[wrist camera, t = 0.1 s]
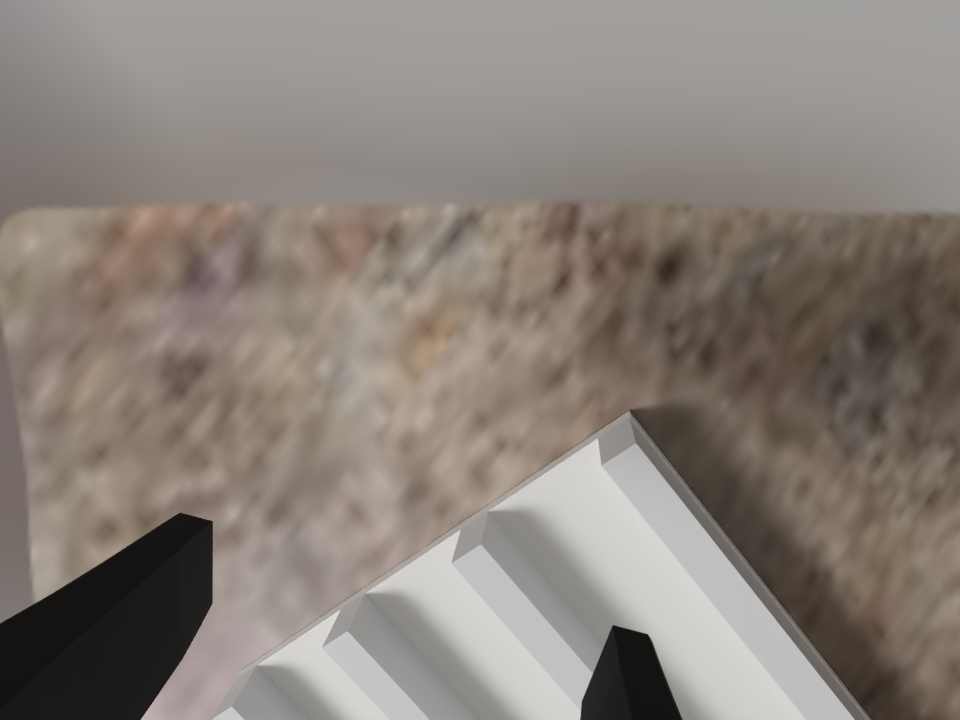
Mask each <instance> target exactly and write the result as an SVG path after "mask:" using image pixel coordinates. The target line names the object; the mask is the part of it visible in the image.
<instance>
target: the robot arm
mask: <svg viewBox="0 0 960 720" xmlns="http://www.w3.org/2000/svg"><path fill="white" fill-rule="evenodd" d="M212 570H213V521H210V520H206V519H202V518H198V517H194V516H190V515H187V514H183V513H179V514H177V515H175V516H174V517H172V518H171V519H169V520H167V521H166V522H164V523H163V524H161V525H160V526H158V527H156V528H155V529H153V530H152V531H150V532H149V533H147V534H146V535H144V536H143V537H141V538H140V539H138V540H137V541H135V542H133V543H132V544H130V545H129V546H127V547H126V548H124V549H123V550H121V551H120V552H118V553H116V554H115V555H113V556H112V557H110V558H109V559H107V560H106V561H104V562H103V563H101V564H99V565H98V566H96V567H95V568H93V569H91V570H90V571H88V572H86V573H85V574H83V575H82V576H80V577H78V578H77V579H75V580H74V581H72V582H70V583H69V584H67V585H65V586H64V587H62V588H61V589H59V590H57V591H56V592H54V593H52V594H51V595H49V596H47V597H46V598H44V599H42V600H41V601H39V602H37V603H35V604H33V605H32V606H30V607H28V608H26V609H25V610H23V611H21V612H20V613H18V614H16V615H14V616H12V617H11V618H9V619H7V620H5V621H4V622H2V623H1V624H0V720H141V718H142V717H143V715H144V714H145V713H146V711H147V710H148V708H149V707H150V705H151V704H152V702H153V701H154V700H155V698H156V697H157V695H158V694H159V692H160V691H161V689H162V688H163V687H164V685H165V684H166V682H167V681H168V679H169V678H170V676H171V675H172V673H173V672H174V670H175V669H176V667H177V666H178V665H179V663H180V662H181V660H182V659H183V657H184V655H185V653H186V652H187V650H188V648H189V646H190V644H191V642H192V641H193V639H194V637H195V635H196V633H197V632H198V630H199V628H200V626H201V624H202V622H203V620H204V618H205V616H206V614H207V612H208V611H209V609H210V607H211V605H212ZM580 720H683V719H682V717H681V715H680V712H679V710H678V707H677V705H676V702H675V700H674V697H673V695H672V693H671V690H670V687H669V685H668V682H667V680H666V677H665V675H664V672H663V669H662V667H661V664H660V661H659V659H658V656H657V653H656V651H655V648H654V645H653V642H652V640H651V638H650V637H649V635H648V634H645V633H642V632H638V631H634V630H630V629H626V628H622V627H618V626H615V625H613V626H612V628H611V631H610V633H609V635H608V638H607V640H606V643H605V645H604V648H603V650H602V653H601V655H600V658H599V660H598V663H597V665H596V668H595V670H594V672H593V675H592V677H591V680H590V682H589V685H588V687H587V690H586V692H585V695H584V697H583V700H582V705H581V717H580Z"/></svg>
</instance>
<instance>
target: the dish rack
mask: <svg viewBox="0 0 960 720" xmlns="http://www.w3.org/2000/svg"><path fill="white" fill-rule="evenodd" d="M613 625H615V626H618V627H622V628H626V629H630V630H634V631H638V632H642V633H645V634H648V635H649V637H650V638H651V640H652V642H653V645H654V648H655V651H656V653H657V656H658V659H659V661H660V664H661V667H662V669H663V672H664V675H665V677H666V680H667V682H668V685H669V687H670V690H671V693H672V695H673V697H674V700H675V702H676V705H677V707H678V710H679V712H680V715H681V717H682V719H683V720H871V718H870V717H869V716H868V715H867V713H866V712H865V711H864V709H863V708H862V707H861V706H860V704H859V703H858V702H857V701H856V699H855V698H854V697H853V695H852V694H851V693H850V692H849V690H848V689H847V688H846V687H845V685H844V684H843V683H842V681H841V680H840V679H839V678H838V676H837V675H836V674H835V673H834V671H833V670H832V669H831V667H830V666H829V665H828V664H827V662H826V661H825V660H824V658H823V657H822V656H821V655H820V653H819V652H818V651H817V650H816V648H815V647H814V646H813V644H812V643H811V642H810V641H809V639H808V638H807V637H806V636H805V634H804V633H803V632H802V630H801V629H800V628H799V627H798V625H797V624H796V623H795V622H794V620H793V619H792V618H791V616H790V615H789V614H788V613H787V611H786V610H785V609H784V607H783V606H782V605H781V604H780V602H779V601H778V600H777V599H776V597H775V596H774V595H773V593H772V592H771V591H770V590H769V588H768V587H767V586H766V585H765V583H764V582H763V581H762V579H761V578H760V577H759V576H758V574H757V573H756V572H755V571H754V569H753V568H752V567H751V565H750V564H749V563H748V562H747V560H746V559H745V558H744V556H743V555H742V554H741V553H740V551H739V550H738V549H737V548H736V546H735V545H734V544H733V542H732V541H731V540H730V539H729V537H728V536H727V535H726V534H725V532H724V531H723V530H722V528H721V527H720V526H719V525H718V523H717V522H716V521H715V520H714V518H713V517H712V516H711V514H710V513H709V512H708V511H707V509H706V508H705V507H704V505H703V504H702V503H701V502H700V500H699V499H698V498H697V497H696V495H695V494H694V493H693V491H692V490H691V489H690V488H689V486H688V485H687V484H686V483H685V481H684V480H683V479H682V477H681V476H680V475H679V474H678V472H677V471H676V470H675V469H674V467H673V466H672V465H671V463H670V462H669V461H668V460H667V458H666V457H665V456H664V455H663V453H662V452H661V451H660V449H659V448H658V447H657V446H656V444H655V443H654V442H653V440H652V439H651V438H650V437H649V435H648V434H647V433H646V432H645V430H644V429H643V428H642V426H641V425H640V424H639V423H638V421H637V420H636V419H635V418H634V416H633V415H632V414H631V412H630V411H628V412H626V413H625V414H623V415H622V416H620V417H619V418H617V419H616V420H614V421H613V422H611V423H610V424H608V425H607V426H605V427H604V428H602V429H601V430H599V431H598V432H596V433H595V434H593V435H592V436H590V437H589V438H588V439H586V440H585V441H583V442H582V443H580V444H579V445H577V446H576V447H574V448H573V449H571V450H570V451H568V452H567V453H565V454H564V455H562V456H561V457H559V458H558V459H556V460H555V461H553V462H552V463H550V464H549V465H547V466H546V467H544V468H543V469H541V470H540V471H538V472H537V473H535V474H534V475H532V476H531V477H529V478H528V479H526V480H525V481H523V482H522V483H520V484H519V485H517V486H516V487H514V488H513V489H511V490H510V491H508V492H507V493H505V494H504V495H502V496H501V497H499V498H498V499H496V500H495V501H493V502H492V503H490V504H489V505H487V506H486V507H484V508H483V509H481V510H480V511H478V512H477V513H475V514H474V515H472V516H471V517H470V518H468V519H467V520H465V521H464V522H462V523H461V524H459V525H458V526H456V527H455V528H453V529H452V530H450V531H449V532H447V533H446V534H444V535H443V536H441V537H440V538H438V539H437V540H435V541H434V542H432V543H431V544H429V545H428V546H426V547H425V548H423V549H422V550H420V551H419V552H417V553H416V554H414V555H413V556H411V557H410V558H408V559H407V560H405V561H404V562H402V563H401V564H399V565H398V566H396V567H395V568H393V569H392V570H390V571H389V572H387V573H386V574H384V575H383V576H381V577H380V578H378V579H377V580H375V581H374V582H372V583H371V584H369V585H368V586H366V587H365V588H363V589H362V590H360V591H359V592H357V593H356V594H354V595H353V596H352V597H350V598H349V599H347V600H346V601H344V602H343V603H341V604H340V605H338V606H337V607H335V608H334V609H332V610H331V611H329V612H328V613H326V614H325V615H323V616H322V617H320V618H319V619H317V620H316V621H314V622H313V623H311V624H310V625H308V626H307V627H305V628H304V629H302V630H301V631H299V632H298V633H296V634H295V635H293V636H292V637H290V638H289V639H287V640H286V641H284V642H283V643H281V644H280V645H278V646H277V647H275V648H274V649H272V650H271V651H269V652H268V653H266V654H265V655H263V656H262V657H260V658H259V659H257V660H256V661H254V662H253V663H251V664H250V665H248V666H247V667H245V668H244V669H242V670H241V671H240V673H239V674H238V676H237V677H236V679H235V681H234V683H233V684H232V686H231V688H230V689H229V691H228V692H227V694H226V695H225V697H224V699H223V700H222V702H221V703H220V705H219V706H218V708H217V710H216V711H215V713H214V714H213V716H212V718H211V719H210V720H580V717H581V705H582V700H583V697H584V695H585V692H586V690H587V687H588V685H589V682H590V680H591V677H592V675H593V672H594V670H595V668H596V665H597V663H598V660H599V658H600V655H601V653H602V650H603V648H604V645H605V643H606V640H607V638H608V635H609V633H610V631H611V628H612V626H613Z"/></svg>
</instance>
